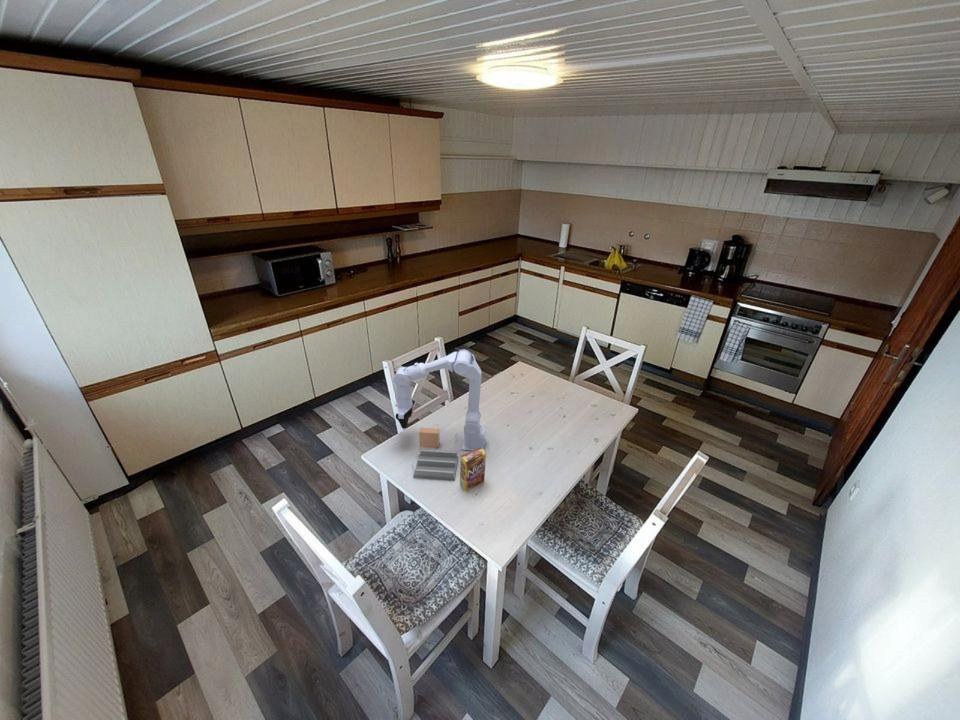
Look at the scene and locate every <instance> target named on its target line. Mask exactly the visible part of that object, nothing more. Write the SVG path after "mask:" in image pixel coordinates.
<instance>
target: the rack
mask: <svg viewBox="0 0 960 720" xmlns="http://www.w3.org/2000/svg"><path fill="white" fill-rule="evenodd" d="M458 462H459V456H458V452H457V451H448V450H446V451H445V450H432V449H430V450H429V449H420V451H419V454H418V458H417V463H416V466H415V468H414V472H413V474H412V475H413V476H412V477H413V479H414V478H415V479H428V480H442V481H455V479H456V474H457V468H458Z"/></svg>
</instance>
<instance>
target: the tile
mask: <svg viewBox="0 0 960 720" xmlns="http://www.w3.org/2000/svg"><path fill="white" fill-rule="evenodd" d="M418 433H419V437H418V438H419V447H420V448H434V449H439V448H440V445H441V438H440V437H441V435H440V428H431V427H430V428H429V427H420V428H419V432H418Z"/></svg>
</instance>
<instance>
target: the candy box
mask: <svg viewBox="0 0 960 720" xmlns="http://www.w3.org/2000/svg"><path fill="white" fill-rule="evenodd" d="M486 458H487V453H486V451H485V449H484V450H483V449H482V448H481V447H479V448H477V449H475V450H469V451H468V452H466V453H464V454H460V458H459V459H460V460H459V461H460V465H459V466H460V467H459V486H460V487H461V488H462V489H463V491H464V492H467V491H469V490H471V489H472V488H474V487H476V486H478V485H481V484H483V483H485V477H486V476H485V475H486V460H487V459H486Z"/></svg>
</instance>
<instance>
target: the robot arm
mask: <svg viewBox="0 0 960 720" xmlns="http://www.w3.org/2000/svg"><path fill="white" fill-rule="evenodd" d="M444 369H447V370H448V371H450V372H451V373H456V375H459V376H461V377H464V378H466V379H468V380H469V382H468V383H469V384H468V385H469V386H468V397H467V399H468V400H467V401H468V402H467V411H466V414H465V422H464V425H463V440H462V447H461V450H463V451H472V450H475V449H477V448H479V447H481V448H482V449H483V450H484V451H485V448H486V444H487V440H486V427H483V426H482V425H481V424H480V423H481V412H480V402H481V401H480V399H481V388H482V386H481V385H482V375H483V373H482V372H483V371H482V369H481V367H480V366H479V364H478V363H477V360H476V357H475V354H473V353H471V352H470V351H469V350H468V349H467V350H466V349H459V350H458V351H453V352H451V353H449V354H448V355H445V356H443V357H441V358H438V359H436V360H433V361H430V362H428V363H424V362H419V363H418V362H415V363H414V364H413V365H409V366H401V367H398V369H397V370H396V372H395V375H394V377H393V383H394V384H395V386H396V387H395V388H396V397H397V402H395V404H394V406H395V407H397V411H398V412H397V413H395V419H396V420H397V422H399V425H400V427H401V429H408V425H409V424H408V422H409V420H410V418H412V414H413V408H414V405H415V403H416V401H415V400H414V399H413V398H412V386H411V382H414V381H416V380H420V379H423V378H425V377H427V376H428V373H432V372H435V371H436V372H437V371H440V370H444Z"/></svg>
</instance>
